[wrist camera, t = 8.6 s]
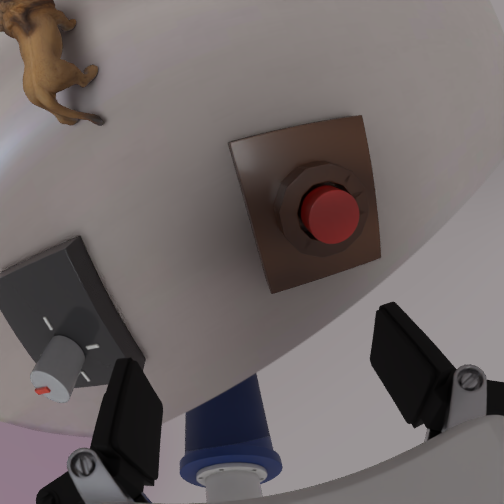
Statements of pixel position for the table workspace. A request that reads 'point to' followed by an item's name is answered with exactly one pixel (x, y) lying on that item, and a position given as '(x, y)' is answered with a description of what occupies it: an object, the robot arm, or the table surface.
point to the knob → (58, 369)
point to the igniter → (297, 188)
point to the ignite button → (330, 214)
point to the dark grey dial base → (66, 310)
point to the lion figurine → (45, 55)
